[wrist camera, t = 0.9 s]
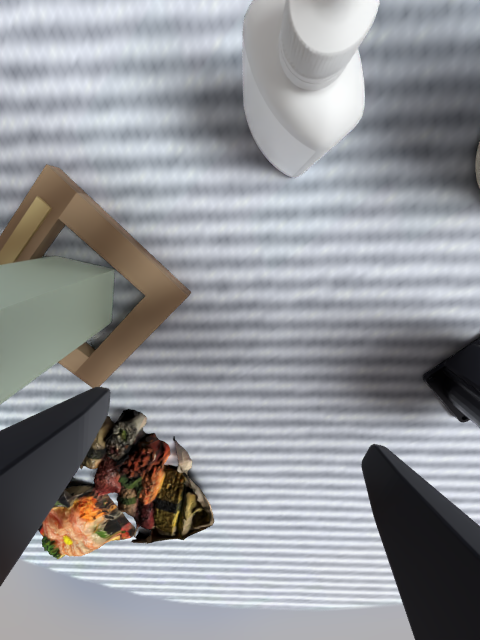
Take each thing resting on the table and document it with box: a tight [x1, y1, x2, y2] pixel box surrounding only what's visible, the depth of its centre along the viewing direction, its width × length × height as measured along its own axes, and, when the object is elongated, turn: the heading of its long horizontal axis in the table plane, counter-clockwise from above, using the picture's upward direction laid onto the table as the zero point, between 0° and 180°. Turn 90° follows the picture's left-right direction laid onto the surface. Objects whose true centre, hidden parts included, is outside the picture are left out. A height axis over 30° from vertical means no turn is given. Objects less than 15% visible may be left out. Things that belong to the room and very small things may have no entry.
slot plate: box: [0, 164, 191, 388], centre depth 20 cm, size 12×12×1 cm
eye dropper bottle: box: [242, 0, 380, 178], centre depth 11 cm, size 4×6×12 cm
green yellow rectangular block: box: [0, 256, 115, 404], centre depth 14 cm, size 4×4×13 cm
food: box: [38, 409, 214, 559], centre depth 27 cm, size 22×19×4 cm
